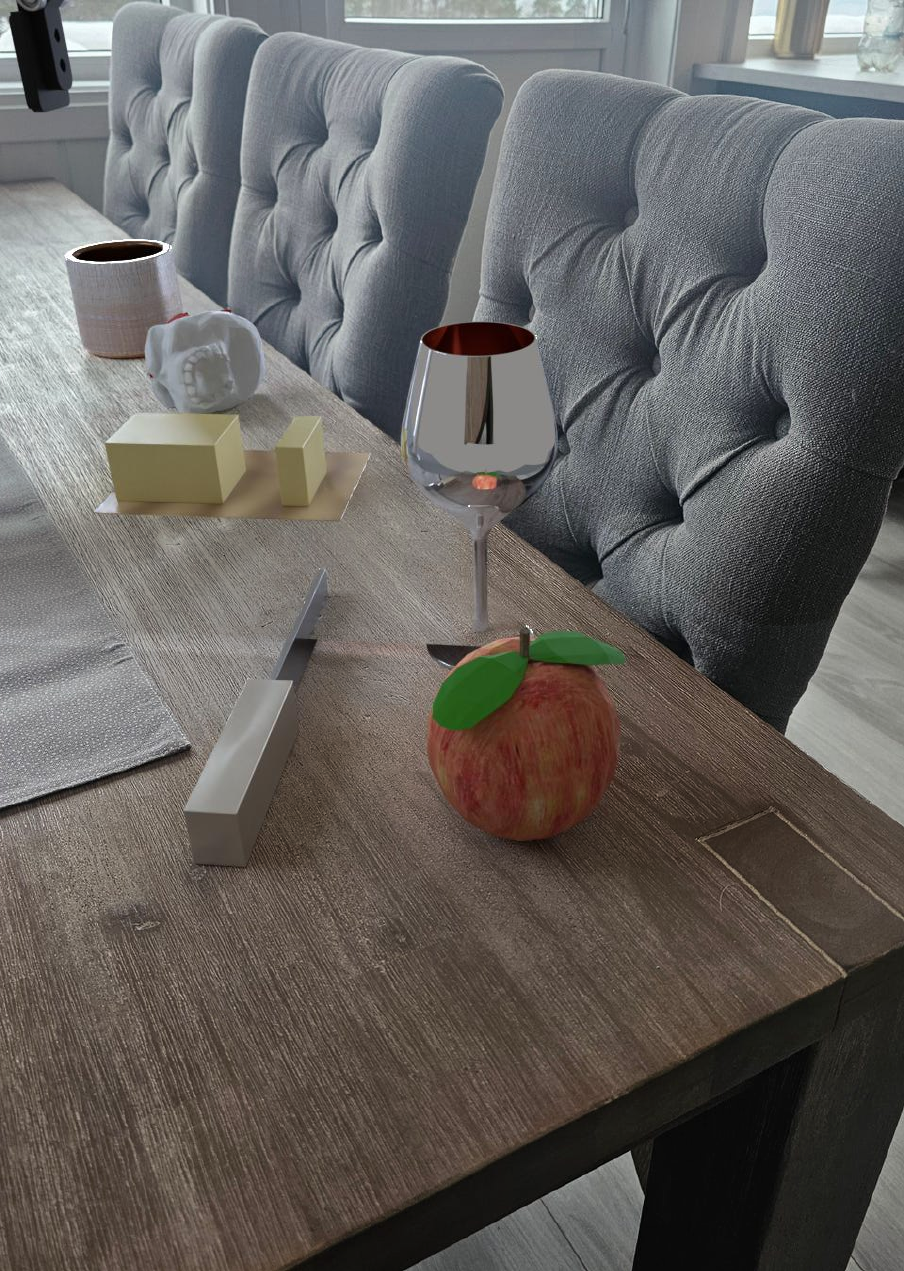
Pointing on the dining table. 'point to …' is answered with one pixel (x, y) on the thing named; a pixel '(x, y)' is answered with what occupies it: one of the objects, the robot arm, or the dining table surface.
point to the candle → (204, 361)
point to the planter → (122, 294)
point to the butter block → (176, 457)
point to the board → (263, 493)
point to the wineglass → (478, 435)
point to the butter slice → (301, 460)
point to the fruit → (526, 734)
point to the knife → (252, 750)
